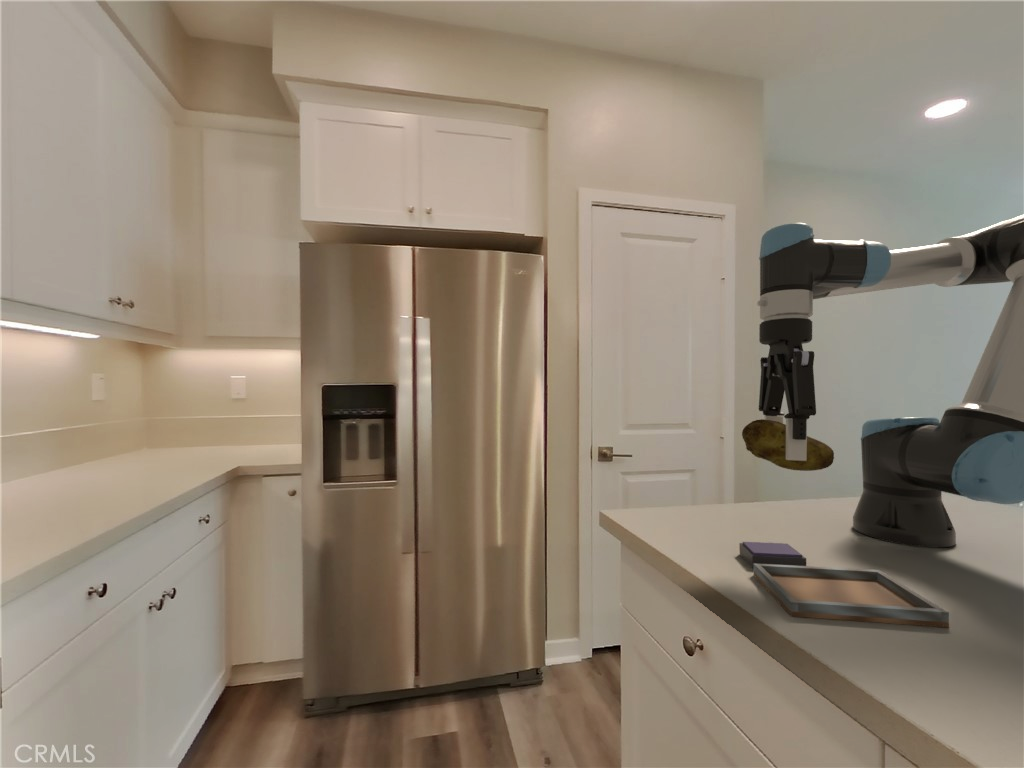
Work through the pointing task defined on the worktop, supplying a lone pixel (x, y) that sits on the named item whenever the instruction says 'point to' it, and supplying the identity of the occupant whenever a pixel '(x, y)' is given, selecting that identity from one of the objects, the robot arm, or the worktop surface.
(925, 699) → the worktop surface
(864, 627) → the worktop surface
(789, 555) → the ink pad
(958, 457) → the robot arm
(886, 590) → the metal baking tray
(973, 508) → the worktop surface
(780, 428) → the potato
